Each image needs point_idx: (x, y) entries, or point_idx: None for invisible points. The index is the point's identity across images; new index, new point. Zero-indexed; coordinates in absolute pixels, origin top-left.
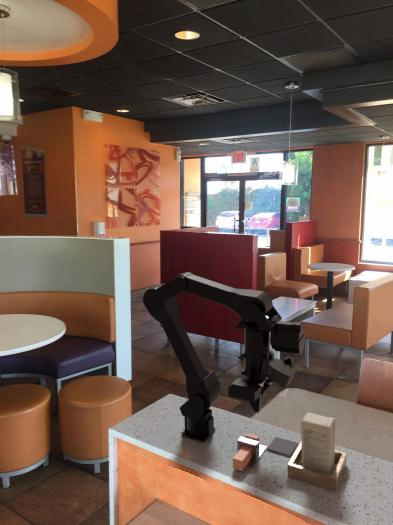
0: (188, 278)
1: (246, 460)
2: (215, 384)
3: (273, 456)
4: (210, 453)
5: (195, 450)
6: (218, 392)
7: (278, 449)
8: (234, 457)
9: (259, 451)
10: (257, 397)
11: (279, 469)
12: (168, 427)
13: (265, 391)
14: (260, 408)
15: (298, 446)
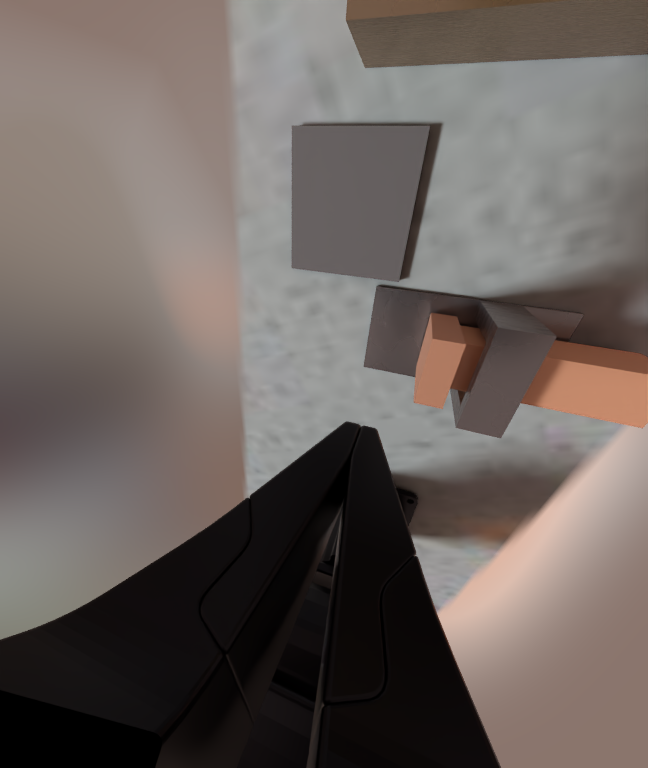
0: None
1: (592, 354)
2: (284, 730)
3: (446, 233)
4: (478, 472)
5: (469, 508)
6: (294, 643)
7: (390, 220)
8: (637, 422)
9: (427, 310)
10: None
11: (583, 154)
12: None
13: (159, 560)
14: (340, 433)
15: (439, 9)
